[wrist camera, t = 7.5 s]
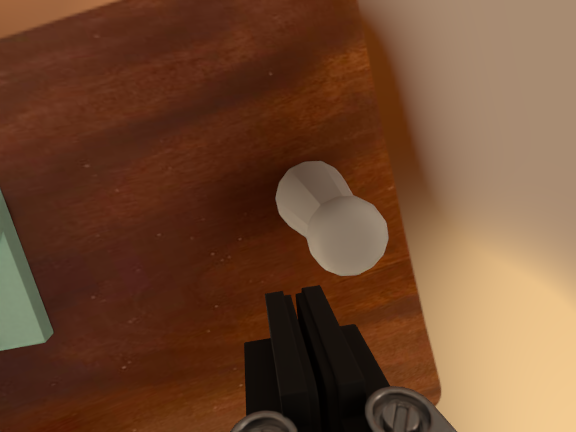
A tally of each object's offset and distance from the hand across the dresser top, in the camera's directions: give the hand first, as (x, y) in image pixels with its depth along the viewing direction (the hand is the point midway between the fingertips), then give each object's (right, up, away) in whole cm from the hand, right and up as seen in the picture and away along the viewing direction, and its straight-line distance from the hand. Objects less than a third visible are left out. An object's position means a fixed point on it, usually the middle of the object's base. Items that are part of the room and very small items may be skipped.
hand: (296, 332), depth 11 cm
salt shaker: (+1, +6, +20) cm, 21 cm away
